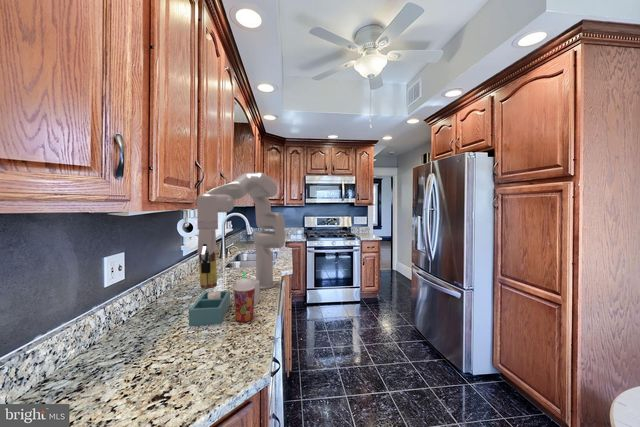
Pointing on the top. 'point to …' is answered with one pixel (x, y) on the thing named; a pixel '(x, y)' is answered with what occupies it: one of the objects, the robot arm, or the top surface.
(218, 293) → the cream jar
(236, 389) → the top surface
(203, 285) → the sauce bottle
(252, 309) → the smoothie
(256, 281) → the toilet tissue
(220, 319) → the bottle crate
